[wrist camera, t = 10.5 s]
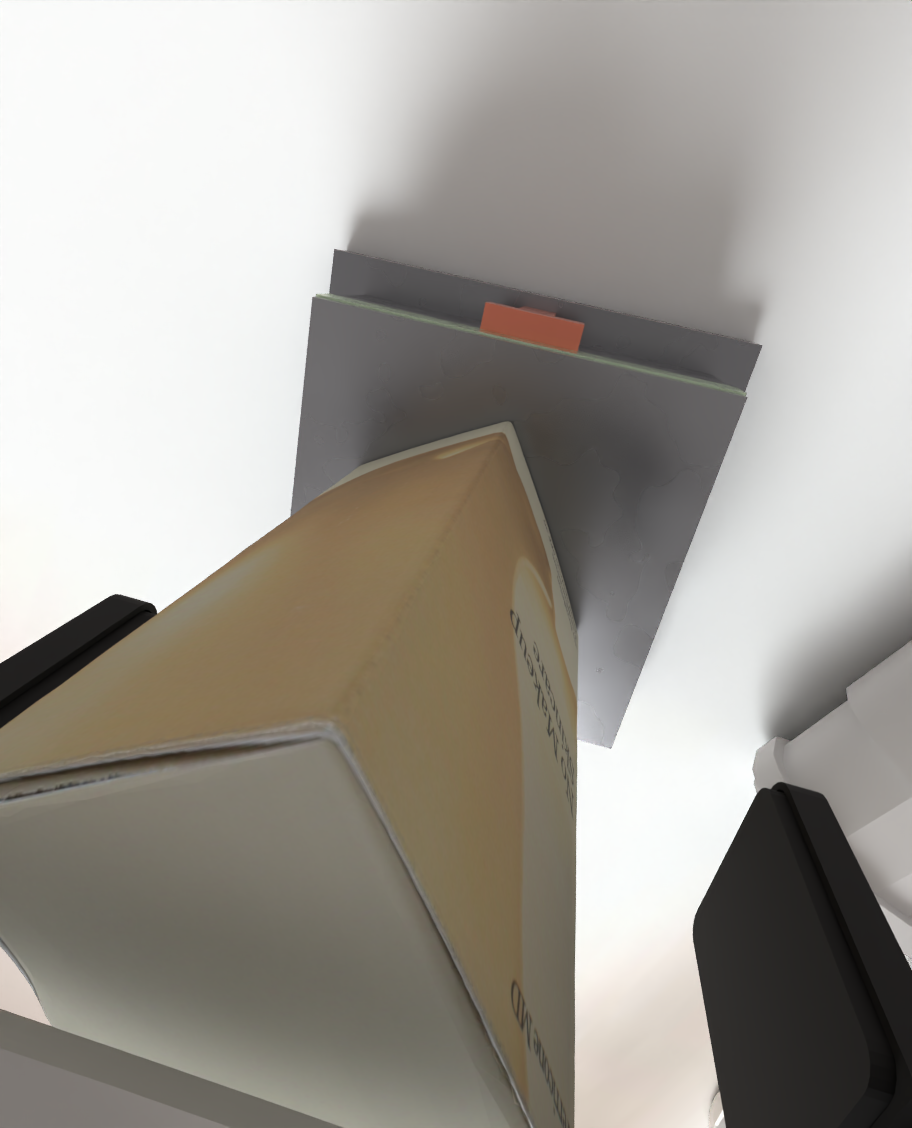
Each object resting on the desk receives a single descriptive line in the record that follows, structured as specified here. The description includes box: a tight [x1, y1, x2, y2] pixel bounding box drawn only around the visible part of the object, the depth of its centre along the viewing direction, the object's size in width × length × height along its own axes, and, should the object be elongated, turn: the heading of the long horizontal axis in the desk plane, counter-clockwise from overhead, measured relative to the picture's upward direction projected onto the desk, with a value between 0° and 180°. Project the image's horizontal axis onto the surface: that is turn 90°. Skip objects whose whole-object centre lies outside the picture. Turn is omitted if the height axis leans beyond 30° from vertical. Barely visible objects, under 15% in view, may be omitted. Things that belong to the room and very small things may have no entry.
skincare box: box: [0, 421, 578, 1128], centre depth 11 cm, size 6×4×12 cm
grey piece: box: [291, 249, 762, 749], centre depth 19 cm, size 12×12×5 cm
